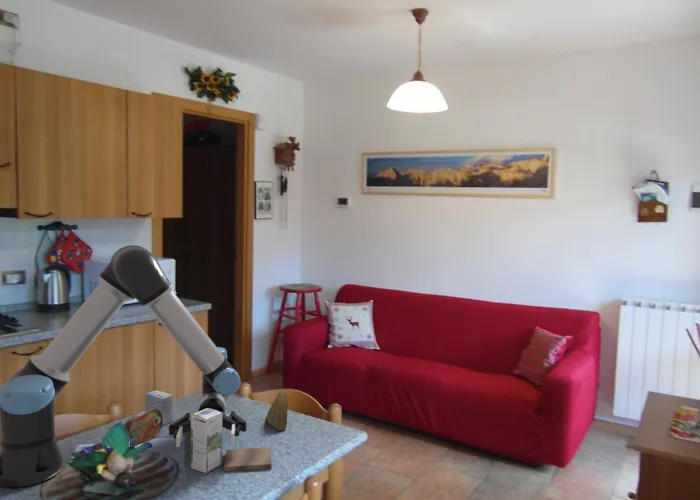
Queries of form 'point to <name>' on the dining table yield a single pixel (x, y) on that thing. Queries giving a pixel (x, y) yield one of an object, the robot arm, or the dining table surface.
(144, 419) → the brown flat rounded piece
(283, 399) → the rock
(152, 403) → the medicine box
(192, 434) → the syrup box
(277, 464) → the dining table surface
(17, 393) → the robot arm
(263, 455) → the walnut board
